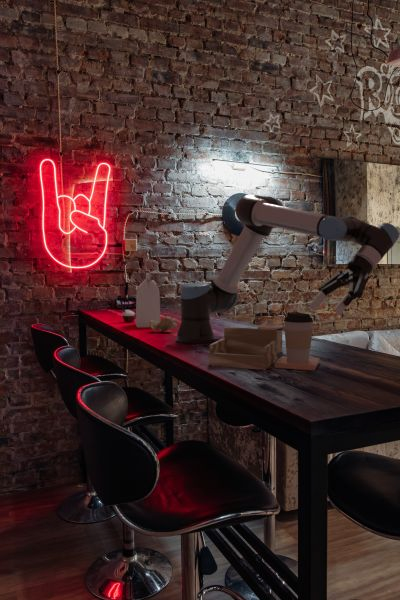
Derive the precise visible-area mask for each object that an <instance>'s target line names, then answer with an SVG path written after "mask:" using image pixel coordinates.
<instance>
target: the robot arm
mask: <svg viewBox="0 0 400 600" xmlns="http://www.w3.org/2000/svg"><path fill="white" fill-rule="evenodd" d="M235 216H236V218H237V220H238V221H239V222H240V223H241V224H242V225H243V229H242V231H241V232H240V234H239V236H238V238H237V239H236V242H235V244H234V246H233V248H232V249H231V251H230V253H229V256H228V257H227V259H226V261H225V263H224V265H223V267H222V269H221V270H220V272H219V274H218V275H214V276H213V278H212V280H211V282H210V283H209V282H202V281H201V282H199V281H198V282H192V283H187V284H184V285H183V286H182V287H181V291H180V316H181V317H180V320H181V321H180V325H179V328H178V331H177V333H176V342H179V343H185V344H205V343H206V344H207V343H211V342H214V341H215V334H214V330H213V328H212V324H211V314H216V313H217V314H218V313H226V312H230V311H231V310H232V309H234V308H235V307H236V305H237V303H238V300H239V299H238V298H239V296H238V295H239V293H238V291H239V288H238V284H239V282H240V280H241V279H242V277H243V275H244V273H245V271H246V270H247V267H248V266H249V265H250V262H251V260H252V259H253V257H254V255H255V253H256V252H257V250H258V249H259V246H260V244H261V242H262V240H263V239H264V238H267V237H269V236H270V234H271V233H272V232H273V231H272V230H273V229H275V228H279V229H283V230H287V231H292V232H296V233H301V234H305V235H308V236H309V235H310V236H314V237H318V238H322V239H325V240H326V241H330V242H331V241H332V242H336V241H337V242H352V243H355V244H357V245H360V246H361V247H360V248H359V249H358V250H357V252H356V253H355V254H354V255H353V256H352V257H351V258H350V259H349V261H348V263H347V269H346V270H345V271H342V270H341V269H340V270H338V271H337V272H336V274H334V275H333V276H331V277H330V278H329V279H328V280H327V281H325V282H324V283H323V284H321V285H320V286H319V287H317V290H318V291H319V292H318V294H317V295H316V296H315V297H314V298H313V299H312V300H311V302H310V303H309V304H308V306H309V307H310V309H311V310H312V311H313V312H316V310H317V309H318V308H319V307H320V306H321V305H322V304H323V302H324V301H325V299H326V298H328V295H329V294H331V293H332V292H334V291H336V290H338V289H339V288H341V287H345V286H349V287H348V291H347V293H345V294H344V295H343V296H342V298H341V299H340V300H339V302H338V303H337V304H336V305H335V307H334V308H333V310H334V312H336V314H337V316H341V315H342V314H343V312H344V311H345V310H346V309H347V308H348V306H350V304H351V303H352V302H353V300H356V299H357V298H358V299H361V298H362V296H363V295H364V294H363V293H364V291H365V290H366V289H365V288H366V286H367V284H368V281H369V279H370V278H371V276H370V274H371V273H372V272H373V270H374V269H375V268H376V267H377V266H378V264H379V263H380V261H382V259H383V258H384V257H385V256H386V254H387V253H388V252H389V251H390V250H391V249H392V248H393V247H394V245H395V244H396V242H397V241H398V240H399V238H400V231H399V230H398V229H397V227H395V225H393V224H391V223H389V222H383V223H380V224H379V225H378V226H376V225H372V224H370V223H367V222H365V221H363V220H360V219H359V218H357V217H355V216H354V217H353V216H350V215H348V214H347V215H344V216H342V217H340V216H334V215H329V214H323V213H319V212H318V213H317V212H314V211H308V210H305V209H304V210H303V209H297V208H291V207H287V206H284V205H283V203H282V201H281V200H279V199H277V198H275V197H273V196H265V195H257V194H247V195H244V196H242V197H241V198H240V199H239V200H238V201H237V202H236V205H235Z"/></svg>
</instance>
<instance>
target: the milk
mask: <svg viewBox="0 0 400 600" xmlns="http://www.w3.org/2000/svg"><path fill="white" fill-rule="evenodd" d="M150 275H151V274H150V273H149V272H146V273H145V279H144V280H143V281H142V282H141V283H140V284H138V286H137V287H136V299H135V301H136V304H135V306H136V307H135V315H136V316H135V317H136V319H135V326H136V327H137V328H151V326H150V319H152V320H154V321H156V322H158V323H159V322H161V320H162V319H161V297H160V296H161V295H160V288H159V286H158V284H157V282H156V281H155V280H154V279H151V276H150Z"/></svg>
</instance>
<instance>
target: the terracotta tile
mask: <svg viewBox="0 0 400 600" xmlns="http://www.w3.org/2000/svg"><path fill="white" fill-rule="evenodd" d="M319 364H320V358H318V357H309V361H308V362H304V363H295V362H289V361H287V355H286V356H284V355H282V356H281V357H279V358H277V360H276V361H274V368H275V369H290V370H301V371H302V370H303V371H305V370H306V371H315V370H316V368H317V367H318V365H319Z"/></svg>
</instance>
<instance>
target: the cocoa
mask: <svg viewBox="0 0 400 600" xmlns="http://www.w3.org/2000/svg"><path fill="white" fill-rule="evenodd" d="M119 304H120V305H121V309H122V319H123V321H124V323H133V322H134V321H136V312H135V311H132V310H130V309H125V307H124V304H123V301H122V299H119Z"/></svg>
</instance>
